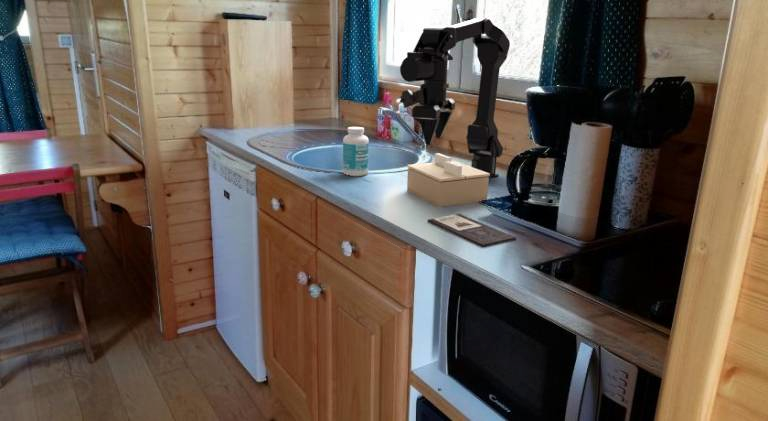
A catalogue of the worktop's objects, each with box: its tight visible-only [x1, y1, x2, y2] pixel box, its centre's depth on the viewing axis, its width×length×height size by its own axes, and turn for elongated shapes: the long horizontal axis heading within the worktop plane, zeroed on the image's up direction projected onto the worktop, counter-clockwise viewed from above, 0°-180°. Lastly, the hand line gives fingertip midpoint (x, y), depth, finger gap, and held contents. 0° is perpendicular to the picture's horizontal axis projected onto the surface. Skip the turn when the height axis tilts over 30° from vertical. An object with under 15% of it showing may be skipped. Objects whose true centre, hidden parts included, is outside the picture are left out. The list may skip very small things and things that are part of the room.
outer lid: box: [406, 161, 465, 182], centre depth 144 cm, size 7×16×3 cm, turn 27°
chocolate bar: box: [427, 213, 517, 248], centre depth 123 cm, size 9×1×18 cm
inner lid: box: [431, 152, 490, 179], centre depth 148 cm, size 7×16×3 cm, turn 27°
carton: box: [406, 167, 490, 208], centre depth 147 cm, size 14×16×6 cm
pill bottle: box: [342, 126, 370, 177], centre depth 167 cm, size 8×7×14 cm
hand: (433, 141), depth 149 cm, fingers open, 9 cm apart
